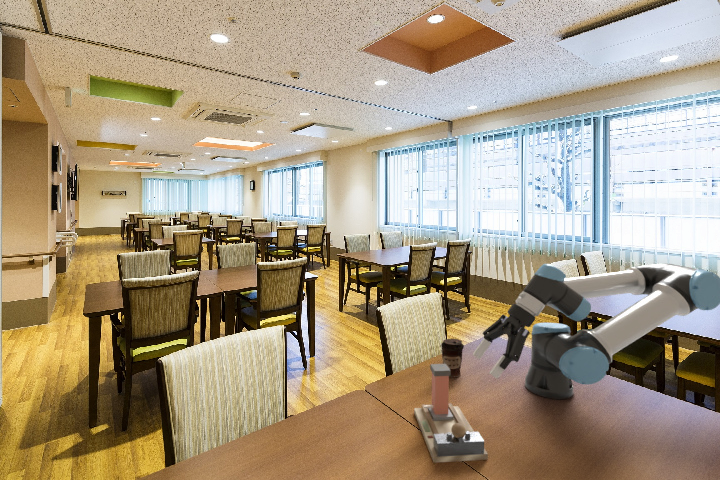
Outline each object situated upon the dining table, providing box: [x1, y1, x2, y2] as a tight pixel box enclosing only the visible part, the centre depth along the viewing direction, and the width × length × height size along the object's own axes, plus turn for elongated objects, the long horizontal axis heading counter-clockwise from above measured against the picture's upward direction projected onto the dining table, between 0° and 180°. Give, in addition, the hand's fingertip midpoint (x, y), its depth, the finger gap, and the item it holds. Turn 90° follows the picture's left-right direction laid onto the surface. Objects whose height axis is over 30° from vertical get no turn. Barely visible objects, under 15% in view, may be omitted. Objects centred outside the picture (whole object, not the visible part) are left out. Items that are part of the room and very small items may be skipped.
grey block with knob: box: [433, 431, 485, 457], centre depth 98 cm, size 12×4×5 cm, turn 94°
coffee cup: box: [440, 338, 465, 378], centre depth 144 cm, size 9×8×13 cm
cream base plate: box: [413, 402, 489, 463], centre depth 107 cm, size 14×23×3 cm, turn 4°
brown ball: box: [451, 423, 466, 438], centre depth 97 cm, size 4×4×4 cm
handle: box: [424, 363, 453, 421], centre depth 114 cm, size 8×7×15 cm
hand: (484, 366), depth 116 cm, fingers open, 13 cm apart
